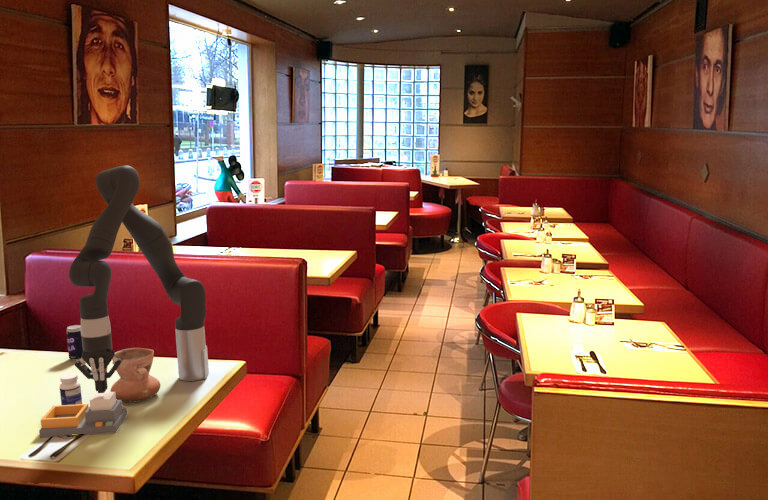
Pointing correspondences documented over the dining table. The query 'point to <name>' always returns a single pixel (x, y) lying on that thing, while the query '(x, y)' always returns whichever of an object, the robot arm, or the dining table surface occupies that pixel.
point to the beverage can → (74, 342)
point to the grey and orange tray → (81, 420)
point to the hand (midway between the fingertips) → (101, 392)
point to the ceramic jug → (135, 375)
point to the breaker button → (103, 401)
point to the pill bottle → (70, 390)
